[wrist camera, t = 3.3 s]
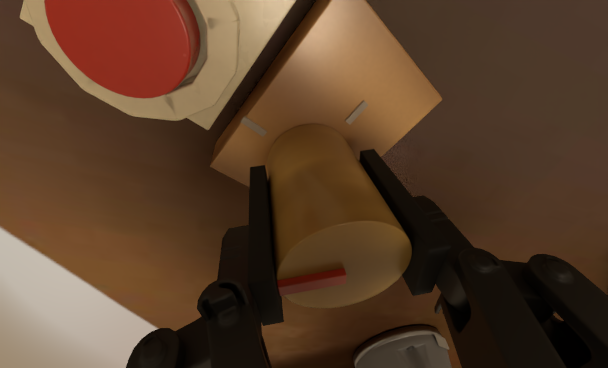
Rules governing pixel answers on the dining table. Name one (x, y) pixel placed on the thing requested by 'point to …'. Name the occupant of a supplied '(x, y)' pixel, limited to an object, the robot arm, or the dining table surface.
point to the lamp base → (208, 69)
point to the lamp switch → (128, 42)
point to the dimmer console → (330, 89)
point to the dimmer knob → (329, 222)
